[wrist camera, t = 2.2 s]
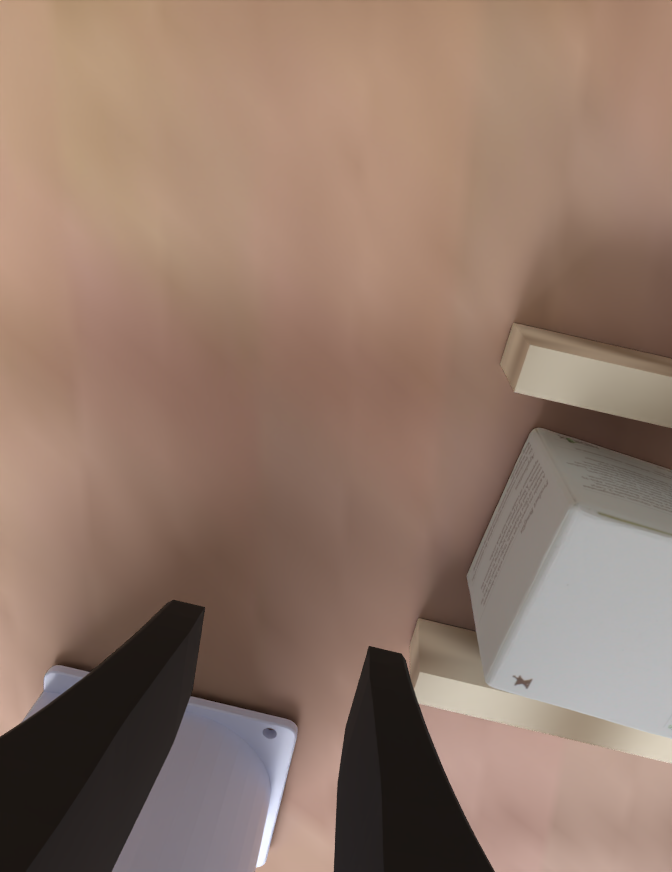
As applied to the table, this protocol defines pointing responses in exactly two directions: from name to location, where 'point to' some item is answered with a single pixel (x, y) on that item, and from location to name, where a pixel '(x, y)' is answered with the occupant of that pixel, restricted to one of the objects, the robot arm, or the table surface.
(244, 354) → the table surface
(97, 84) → the table surface
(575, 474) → the small box
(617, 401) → the parallel cream rails
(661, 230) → the table surface
